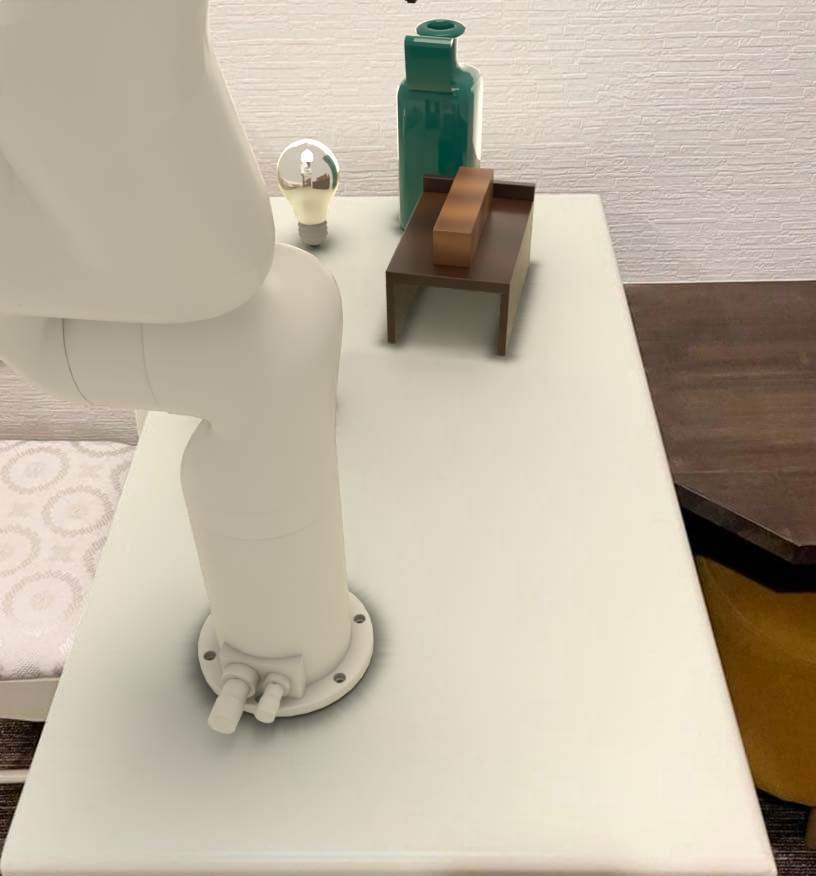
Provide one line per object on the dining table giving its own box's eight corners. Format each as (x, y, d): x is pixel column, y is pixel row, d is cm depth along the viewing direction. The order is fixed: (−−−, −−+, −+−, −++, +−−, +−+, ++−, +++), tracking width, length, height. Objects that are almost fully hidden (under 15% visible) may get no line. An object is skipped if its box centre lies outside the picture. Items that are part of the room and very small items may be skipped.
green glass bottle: (414, 200, 122) (412, 6, 107) (481, 208, 120) (489, 12, 105) (392, 237, 115) (386, 36, 100) (462, 246, 114) (468, 43, 98)
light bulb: (349, 255, 113) (342, 151, 104) (288, 263, 112) (277, 158, 103) (339, 227, 117) (332, 125, 109) (280, 234, 116) (269, 132, 108)
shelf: (505, 355, 98) (510, 268, 91) (387, 342, 100) (384, 255, 93) (529, 265, 110) (535, 182, 104) (424, 255, 112) (423, 173, 106)
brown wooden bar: (469, 268, 95) (470, 233, 92) (432, 264, 95) (433, 229, 93) (492, 202, 104) (494, 168, 102) (458, 199, 105) (459, 166, 102)
